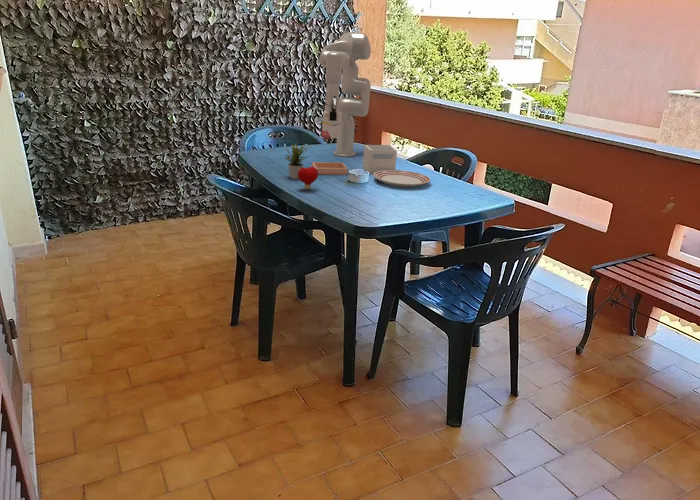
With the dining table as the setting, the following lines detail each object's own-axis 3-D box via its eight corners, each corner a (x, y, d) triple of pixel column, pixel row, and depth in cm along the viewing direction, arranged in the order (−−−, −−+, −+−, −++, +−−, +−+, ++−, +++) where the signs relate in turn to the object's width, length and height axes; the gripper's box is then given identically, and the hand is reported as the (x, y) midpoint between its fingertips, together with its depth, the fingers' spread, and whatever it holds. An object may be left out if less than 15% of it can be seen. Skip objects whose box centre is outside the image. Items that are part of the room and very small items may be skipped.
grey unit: (362, 167, 279) (364, 143, 275) (388, 167, 282) (390, 144, 278) (368, 173, 268) (369, 149, 263) (395, 174, 271) (397, 149, 266)
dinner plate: (386, 172, 274) (386, 165, 273) (437, 181, 264) (438, 174, 262) (363, 183, 251) (363, 177, 250) (418, 194, 241) (419, 187, 239)
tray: (311, 168, 272) (311, 162, 271) (342, 168, 275) (342, 162, 274) (315, 174, 261) (315, 168, 259) (347, 174, 264) (347, 168, 263)
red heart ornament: (300, 192, 231) (301, 170, 227) (294, 188, 237) (295, 166, 233) (320, 191, 235) (321, 168, 232) (313, 186, 241) (314, 164, 237)
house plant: (318, 178, 254) (320, 144, 248) (297, 183, 245) (297, 147, 238) (298, 172, 263) (299, 139, 257) (276, 176, 253) (277, 142, 247)
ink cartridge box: (321, 137, 259) (322, 105, 254) (323, 135, 264) (324, 104, 258) (339, 138, 259) (340, 107, 253) (340, 136, 263) (341, 105, 258)
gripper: (322, 78, 258) (321, 116, 265) (328, 81, 243) (326, 122, 250) (338, 78, 260) (336, 116, 267) (344, 82, 244) (342, 122, 251)
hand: (331, 118), depth 258 cm, fingers closed on ink cartridge box, 6 cm apart
